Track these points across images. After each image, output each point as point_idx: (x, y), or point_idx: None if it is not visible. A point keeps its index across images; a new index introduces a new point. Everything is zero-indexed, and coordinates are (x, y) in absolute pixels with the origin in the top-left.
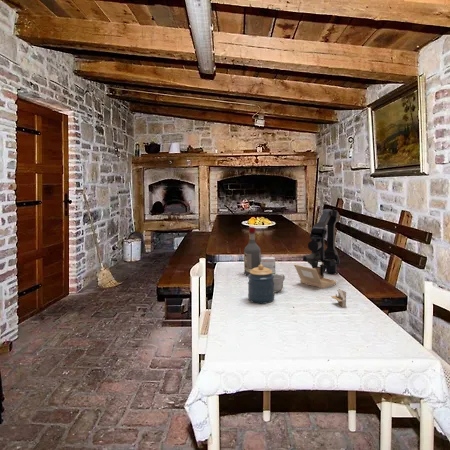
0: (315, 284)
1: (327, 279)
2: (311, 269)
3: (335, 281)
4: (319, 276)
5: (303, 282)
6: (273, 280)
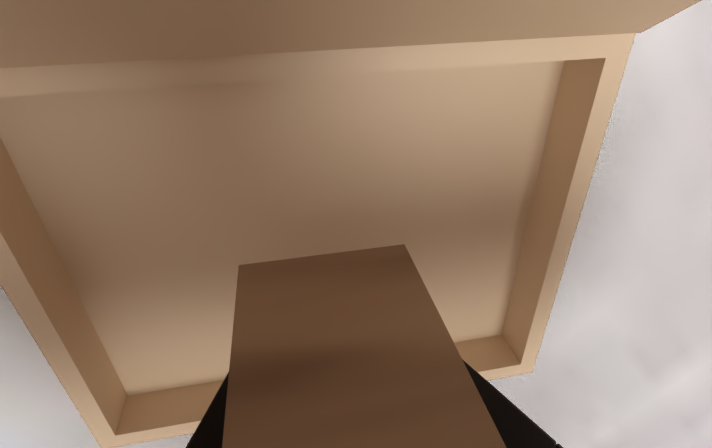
0: None
1: None
2: None
3: (98, 430)
4: (234, 318)
5: None
6: None
